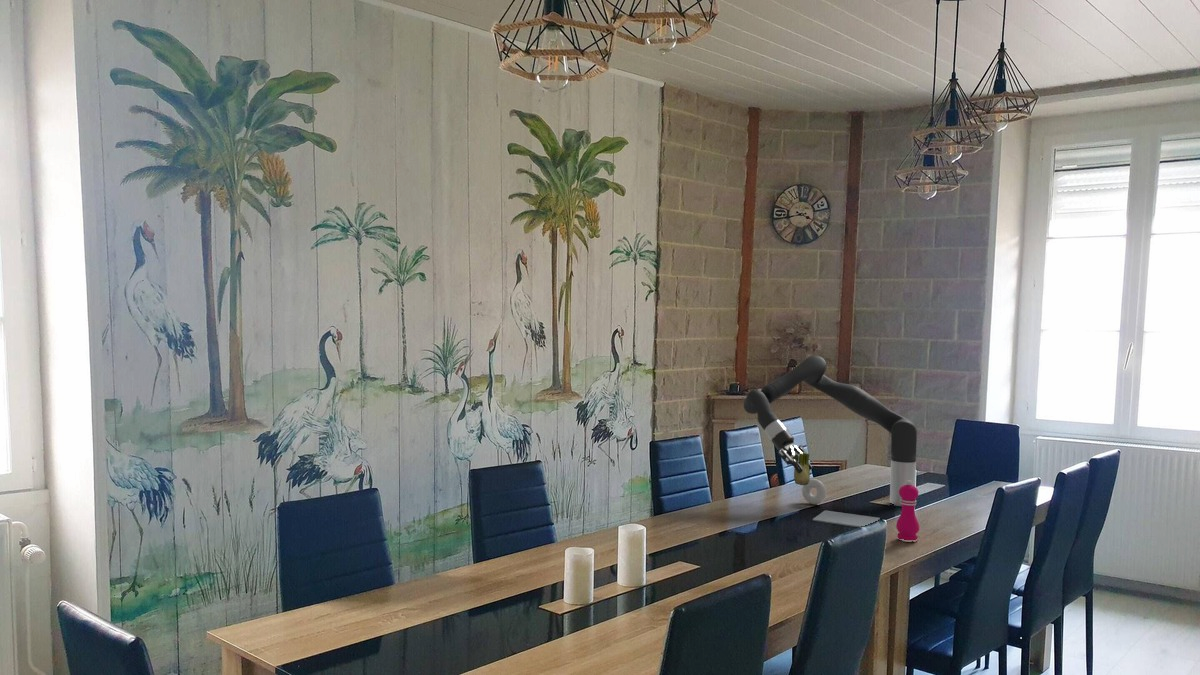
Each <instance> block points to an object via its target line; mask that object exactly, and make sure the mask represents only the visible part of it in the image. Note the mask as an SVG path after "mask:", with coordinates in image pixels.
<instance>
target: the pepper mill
mask: <svg viewBox="0 0 1200 675" xmlns="http://www.w3.org/2000/svg"><path fill="white" fill-rule="evenodd" d="M906 484H907V485H903V486H902V487H901V488H900V490H899V495H900V496H901V498H902V499H901V502H900V503H901V504H902V506H901V511H900V512H901V513H900V515H899V516H898V519H897V520H896V523H895V524H896V525H895V527H896V530H897V531H898V532H897V534H896V535H897V536H896V537H898V538H899V539H904V540H916V539H917V538H918V534H917V533H919V531H920V523H919V521H918V519H917V517H916V510H915V509H916V505H917V500H916V499H918V497H919V490H918V488H917V487H916V485H915V486H913V485H911V484H912V482H911V481H910V480H908V481H907V482H906Z"/></svg>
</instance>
